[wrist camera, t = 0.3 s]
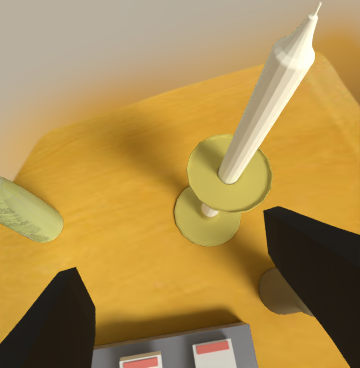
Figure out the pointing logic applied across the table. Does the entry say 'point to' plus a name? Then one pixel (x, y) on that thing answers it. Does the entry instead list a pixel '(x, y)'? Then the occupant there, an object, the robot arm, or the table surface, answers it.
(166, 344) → the strip
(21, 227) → the tube
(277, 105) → the candle
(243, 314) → the table surface
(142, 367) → the rocker
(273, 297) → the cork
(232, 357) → the rocker
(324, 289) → the robot arm
